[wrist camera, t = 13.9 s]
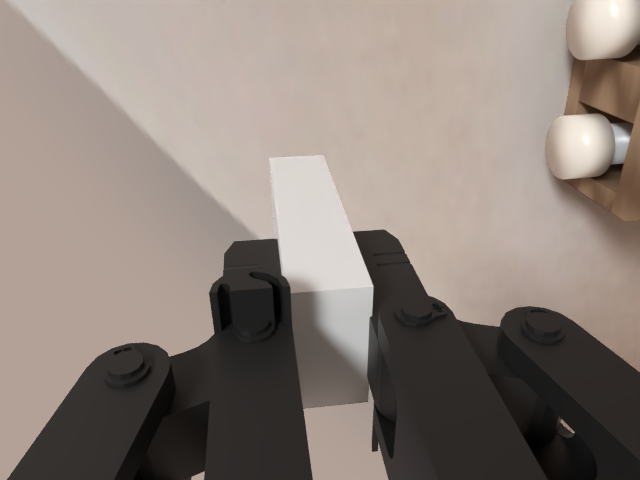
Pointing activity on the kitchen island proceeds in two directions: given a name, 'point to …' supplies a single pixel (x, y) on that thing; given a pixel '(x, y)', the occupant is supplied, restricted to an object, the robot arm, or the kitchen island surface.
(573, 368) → the robot arm
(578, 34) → the knob
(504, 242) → the kitchen island surface
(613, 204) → the mount
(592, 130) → the knob
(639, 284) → the kitchen island surface
